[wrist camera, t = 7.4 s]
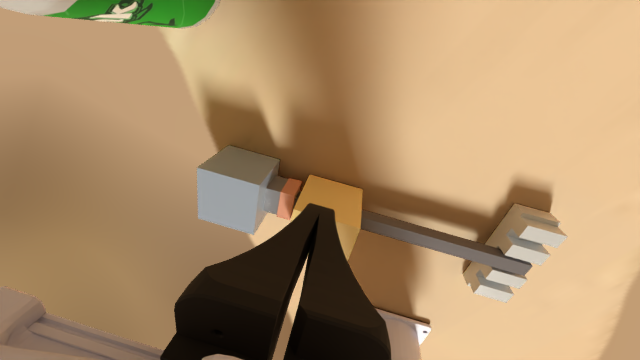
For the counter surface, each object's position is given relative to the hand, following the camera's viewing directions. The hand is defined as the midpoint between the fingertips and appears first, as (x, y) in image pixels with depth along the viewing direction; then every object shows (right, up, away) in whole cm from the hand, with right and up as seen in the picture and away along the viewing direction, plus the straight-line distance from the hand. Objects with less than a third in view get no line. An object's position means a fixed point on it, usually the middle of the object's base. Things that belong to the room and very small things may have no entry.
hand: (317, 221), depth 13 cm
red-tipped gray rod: (+7, -1, +11) cm, 13 cm away
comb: (+17, -4, +11) cm, 21 cm away
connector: (-6, +3, +12) cm, 14 cm away
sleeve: (+1, 0, +12) cm, 12 cm away
